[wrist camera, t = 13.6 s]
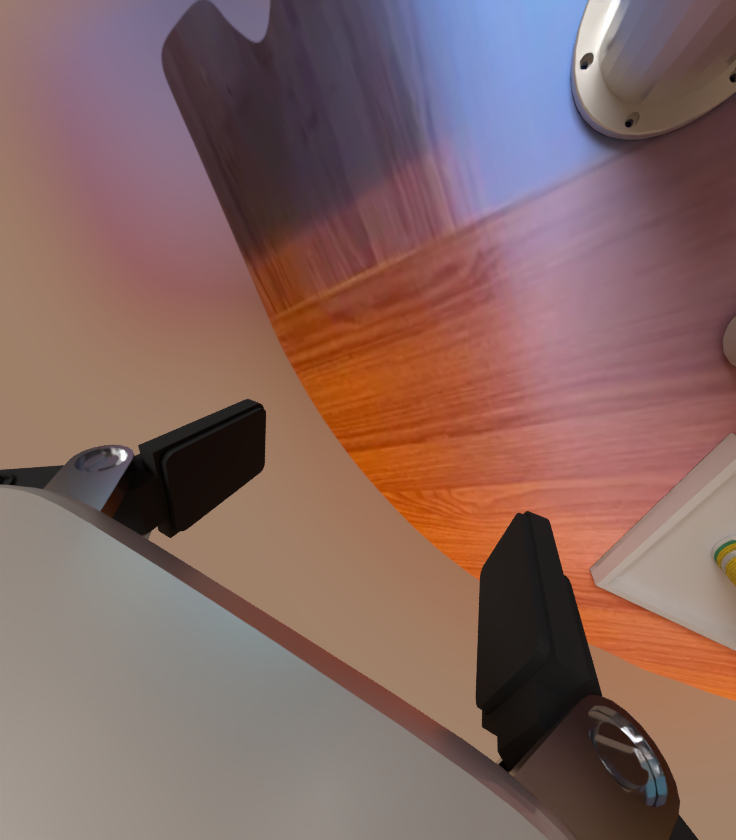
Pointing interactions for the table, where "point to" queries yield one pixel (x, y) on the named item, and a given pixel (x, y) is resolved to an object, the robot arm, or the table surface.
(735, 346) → the can
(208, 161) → the table surface
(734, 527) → the tray
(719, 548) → the supplement bottle
